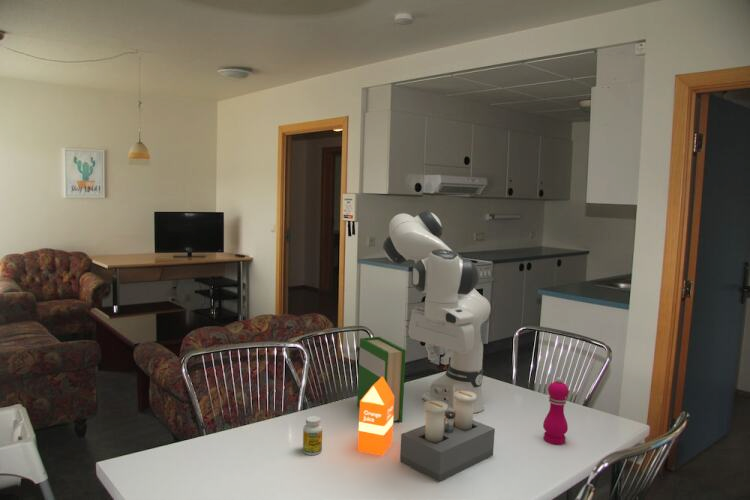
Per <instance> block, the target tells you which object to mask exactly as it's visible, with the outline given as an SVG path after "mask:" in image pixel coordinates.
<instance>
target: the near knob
mask: <svg viewBox="0 0 750 500" xmlns="http://www.w3.org/2000/svg"><path fill="white" fill-rule="evenodd" d="M423 409H424V410H425V424H424V425H425V440H427V441H429V442H431V443H434V444H437V443H439V442H442V441H443V433H444V418H445V412H446V411H447V410H448V405H447V404H446V403H444V402H442V401H436V400H431V401H424V402H423Z"/></svg>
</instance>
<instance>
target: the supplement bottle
mask: <svg viewBox="0 0 750 500" xmlns="http://www.w3.org/2000/svg"><path fill="white" fill-rule="evenodd" d="M302 430H303V432H302V452H303V453H304V454H305V455H308V456H316V455H318V454H321V452H322V451H323V450H322V449H323V426H322V424H321V418H320V417H319V416H316V415H311V416H307V417H306V418H305V425H304V426H303V429H302Z"/></svg>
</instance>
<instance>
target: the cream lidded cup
mask: <svg viewBox="0 0 750 500" xmlns="http://www.w3.org/2000/svg"><path fill="white" fill-rule="evenodd" d="M454 398H455V399H456V410H455V412H454V413H455V414H456V415H455V426H454V427H455V428H458V429H460V430H463V431H465V432H466V431H468V430H470V429H472V421H473V420H474V419H473V417H474V413H473V406H474V401H476V398H477V395H476V394H475V393H473V392H470V391H456V392H454Z"/></svg>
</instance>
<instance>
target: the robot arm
mask: <svg viewBox="0 0 750 500" xmlns="http://www.w3.org/2000/svg"><path fill="white" fill-rule="evenodd" d="M388 232H389V236H387V237H386V239H385V240H384V242H383V245H382V249H383V252H384V255H385V256H386V258H387V259H388V260H389V261H391V262H392V263H394V264H395V265H402V264H405V263H407V262H408V261H409V260H413V261H414V264H413V267H412V268H411V269H412V271H411V284H412V286H413V287H414V288H415V289H416V291H418V292H419V293H423V294H426V295H425V299H424V307H423V306H420V305H415V306H414V307H413V308H412V309H411V314H410V315H411V316H410V318H409V324H408V332H407V333H408V337H409V338H410V339H413V340H414V341H419V342H422V343H425V344H424V347H425V348H426V349H425V350H426V352H427V354H428V355H427V359H428V361H429V360H430V361H432V362H433V361H436V360H437V352H435V349H434V347H435V346H436V347H438V348H439V347H440V348H443V349H444V351H443V352H444V355H443V356H441V357H440V364H442V365H445V366H443V370H446V371H445V373H444V374H443V375H441V376H439V377H438V378H436V379H434V380H433V381H432V382H431V384H430V386H429V391H427V392H425V393H423V395H422V397H421V398H422V400H423V401H424V402H426V401H431V400H436V401H442V402H444V403H446V404H447V405H448V410H447V411H451V412H454V413H455V410H456V399H455V398H454V392H456V391H470V392H473V393H475V394H476V395H477V398H476V401H474V406H473V414H476V413H480V412H482V411H483V410H485V406H484V400H483V392H482V384H483V378H484V376H483V375H484V368H483V357H484V355H483V354H484V344H483V342H482V337H481V336H482V334H481V326H482V324H484V323H485V322H487V320H488V319H489V316H490V314H491V309H492V308H491V304H490V302H489V300H488V299H487V298H486V297H485V296H483V295H481V293H479V291H477V289H475V288H476V286H477V285H478V283H479V272H478V269H477V267H476V265H475V264H474V262H473V261H471V259H469V258H465V257H463V256H462V255H461V254H459V253H458V251H456V250H455V249H454V248H453V247H452V246H451V245H450V244H448V243H447V242H446V241H445V240H443V239H441V236H442V234H443V227H442V222H441V220H440V219H439V217H438V216H437V215H436V214H435V213H433V212H431V211H429V210H423V211H421V212H420V213H418V215H416V216H412V215H410V214H408V213H398V214H396V215H395V216H393V218H391V219H390V222H389V225H388ZM447 411H446V412H447Z"/></svg>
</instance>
